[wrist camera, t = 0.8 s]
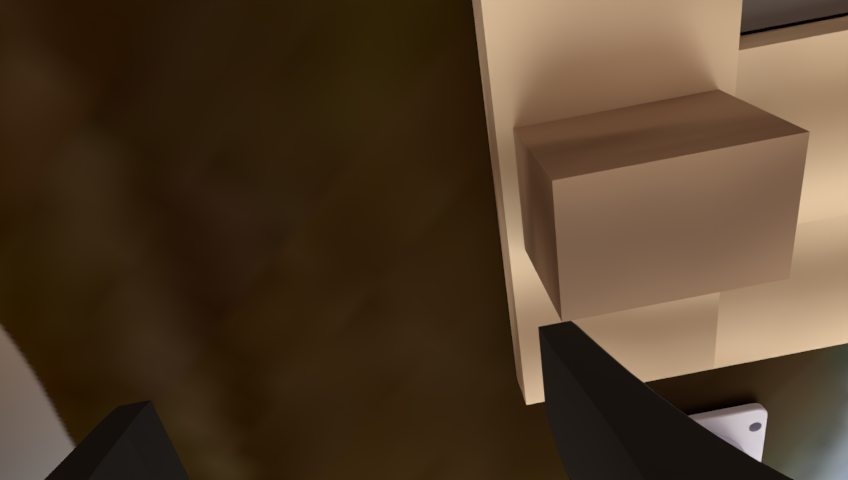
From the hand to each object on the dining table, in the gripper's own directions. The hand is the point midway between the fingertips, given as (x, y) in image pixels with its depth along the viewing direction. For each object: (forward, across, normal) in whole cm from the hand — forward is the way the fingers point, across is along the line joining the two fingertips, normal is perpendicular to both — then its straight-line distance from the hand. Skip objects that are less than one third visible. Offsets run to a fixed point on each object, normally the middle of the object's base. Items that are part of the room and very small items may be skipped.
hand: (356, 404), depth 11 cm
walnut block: (+8, -8, 0) cm, 11 cm away
